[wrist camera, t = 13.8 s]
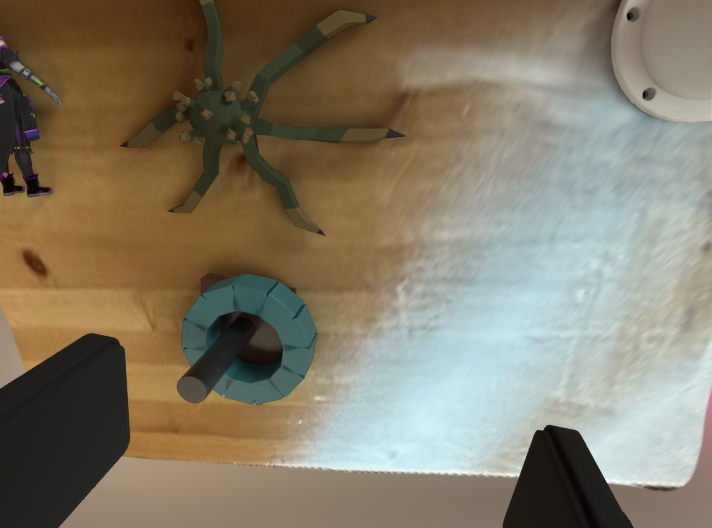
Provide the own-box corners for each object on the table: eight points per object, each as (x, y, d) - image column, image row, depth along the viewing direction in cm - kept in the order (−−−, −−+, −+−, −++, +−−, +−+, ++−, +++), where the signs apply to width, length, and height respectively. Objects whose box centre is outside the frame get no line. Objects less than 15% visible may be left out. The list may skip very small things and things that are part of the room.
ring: (324, 290, 38) (317, 303, 35) (306, 396, 42) (299, 416, 39) (201, 263, 38) (184, 273, 35) (195, 369, 42) (179, 387, 40)
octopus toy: (123, 198, 39) (45, 217, 31) (123, -53, 32) (22, -117, 24) (379, 256, 37) (369, 293, 29) (436, 5, 30) (444, -41, 22)
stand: (296, 288, 39) (252, 349, 29) (289, 367, 42) (246, 449, 32) (208, 272, 40) (132, 326, 29) (206, 351, 43) (138, 425, 32)
